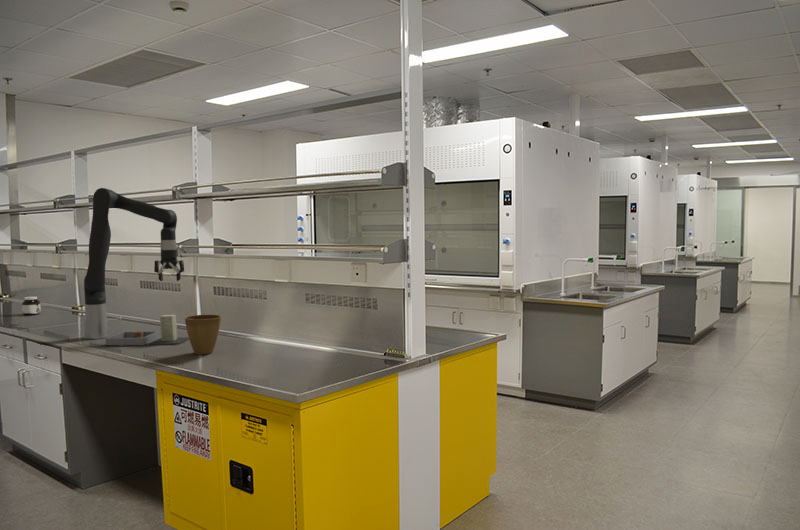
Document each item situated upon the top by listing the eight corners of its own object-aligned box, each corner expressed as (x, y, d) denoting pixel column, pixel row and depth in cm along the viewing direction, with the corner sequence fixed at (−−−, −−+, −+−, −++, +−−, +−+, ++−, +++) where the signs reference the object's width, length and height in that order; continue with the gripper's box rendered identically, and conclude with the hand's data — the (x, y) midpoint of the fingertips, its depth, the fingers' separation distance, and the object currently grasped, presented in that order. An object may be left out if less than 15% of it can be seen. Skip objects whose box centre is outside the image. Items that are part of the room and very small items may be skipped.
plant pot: (201, 358, 233) (200, 320, 232) (178, 354, 241) (177, 317, 240) (229, 351, 246) (228, 315, 245) (206, 347, 254) (205, 313, 253)
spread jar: (30, 316, 355) (29, 298, 355) (15, 315, 357) (14, 297, 357) (45, 313, 367) (44, 295, 366) (30, 313, 369) (29, 295, 368)
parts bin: (106, 345, 260) (105, 338, 260) (124, 338, 278) (124, 331, 278) (143, 345, 260) (143, 338, 260) (159, 338, 278) (159, 331, 278)
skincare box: (177, 339, 270) (176, 314, 269) (173, 341, 266) (172, 316, 265) (165, 339, 271) (164, 314, 270) (160, 341, 266) (159, 316, 265)
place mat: (149, 345, 261) (149, 343, 261) (161, 339, 275) (161, 337, 275) (179, 344, 261) (178, 343, 261) (190, 338, 275) (189, 337, 275)
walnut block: (132, 341, 272) (132, 332, 272) (135, 339, 276) (135, 331, 276) (141, 340, 273) (141, 332, 272) (143, 339, 276) (143, 331, 276)
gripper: (151, 249, 279) (152, 281, 280) (179, 249, 279) (180, 281, 280) (157, 248, 286) (158, 280, 287) (185, 248, 286) (186, 279, 287)
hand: (169, 280), depth 283 cm, fingers open, 8 cm apart
